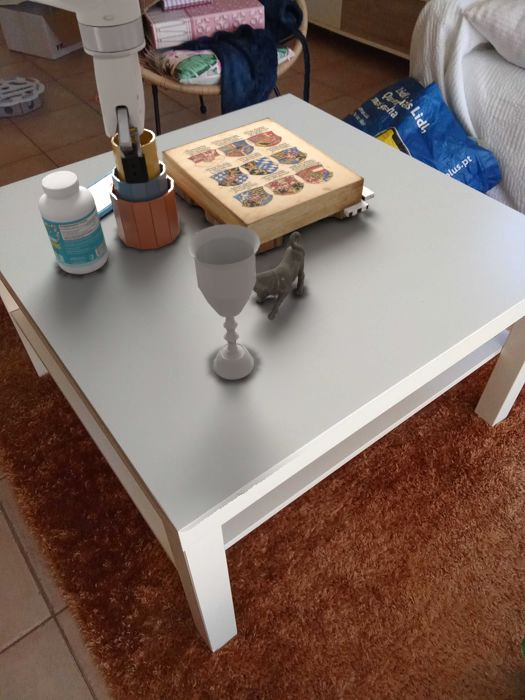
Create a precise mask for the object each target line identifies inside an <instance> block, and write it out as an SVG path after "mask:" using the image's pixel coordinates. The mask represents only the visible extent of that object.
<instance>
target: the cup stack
mask: <svg viewBox="0 0 525 700" xmlns="http://www.w3.org/2000/svg"><path fill="white" fill-rule="evenodd" d="M159 162H160V168H161V174H160V175H159V176H158V177H157V178H154V179H152V180H149V181H148V182H143V183H126V182H124V181H120V180H119V175H118V171H117V166H116V165H115V166H113V167H112V169H111V171H112V175H111V176H112V180H113V182H112V183H111V184H110V191H109V194H110V198H111V203H112V207H113V209H112V210H113V215H114V219H115V223H116V227H117V232H118V236H119V239H120V240H121V241H122V242H123V243H124V245H126V246H127V247H130V248H133V249H137V250H142V251H143V250H155V249H160V248H162V247H164V246H166V245H169V244H172V243H173V242H174V241H175V240H176V239H177V238H178V236H180V234H181V223H180V215H179V209H178V208H179V207H178V201H177V195H176V194H177V193H176V192H175V187H174V180H173V179H172V178H171V177H170V176H168V175H167V172H166V166H165V164H164V163H163V162H162V161H161V160H160V159H159Z"/></svg>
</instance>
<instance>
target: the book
mask: <svg viewBox="0 0 525 700" xmlns="http://www.w3.org/2000/svg"><path fill="white" fill-rule="evenodd" d="M161 155H162V161H163V162H162V163H164V164H165V166H166V172H167V175H168V176H170V177H171V178H172V179H173V180H174V187H175V193H176V194H177V195H178V196H179V197H180V198H182V199H183V200H184V201H185V202H187V203H188V204H189V205H190V206H197V207H201V208H202V209H203V211H204V214H205V215H204V216H205V219H206V221H207V222H208V223H209V224H210V225H212V226H215V225H224V224H231V225H240V226H243V227H247V228H249V229H250V230H252V231H254V232H255V233H256V234H257V235H258V237H259V240H260V245H259V248H258V250H257V252H256V254H255V255H258V254H260V253H264V252H266V251H269V250H273V249H274V248H277V247H281V246H282V245H283V236H285V235H287V234H289V233H291V232H295V231H296V230H298V229H301V228H304V227H305V226H308V225H311V224H313V223H315V222H318V221H319V220H322V219H326V218H327V217H328V218H329V217H331V218H332V217H334V218H337V219H339V220H342V219H345V218H346V217H347V218H350V217H353V216H356V215H358V214H360V213H362V212H364V211H367V210H369V207H370V205H369V204H368V203H367V202H366V201H370V200H371V199H373V198H375V191H372V190H371V189H369V188H367V187H366V186H364V183H365V177H362V176H361V175H359V174H358V173H356V172H354V171H353V170H352V169H350V168H349V167H347V166H345V165H344V164H342V163H340V162H339V161H338V160H336V159H334V158H333V157H331V156H329V155H328V154H326V153H325V152H324V151H322V150H321V149H319V148H317V147H316V146H314V145H313V144H311V143H309V142H308V141H307V140H305V139H303V138H301V136H298V135H297V134H295V133H294V132H292V131H291V130H289V129H287V128H286V127H284V126H283V125H281V124H280V123H278V122H277V121H275V120H273V119H272V118H270V117H266V118H262V119H259V120H256V121H253V122H249V123H247V124H244V125H241V126H237V127H233V128H232V129H228V130H225V131H222V132H219V133H216V134H213V135H210V136H207V137H203V138H200V139H197V140H194V141H190V142H188V143H185V144H182V145H178V146H175V147H172V148H169V149H165V150H162V151H161Z"/></svg>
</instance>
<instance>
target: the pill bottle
mask: <svg viewBox="0 0 525 700" xmlns="http://www.w3.org/2000/svg"><path fill="white" fill-rule="evenodd" d="M41 187H42V190H43V194H42V195H41V197H40V198H39V200H38V211H39V213H40V216H41V219H42V222H43V224H44V227H45V230H46V233H47V236H48V239H49V241H50V245H51V247H52V251H53V253H54V256H55V258H56V261H57V264H58V266H59V268H61V269H62V271H64V272H66V273H67V274H68V273H69V274H73V275H86V274H89V273H93V272H95V271H97V270H99V269H101V268H102V267H103V266H104V265H105V264H106V263H107V261H108V258H109V250H108V246H107V243H106V239H105V235H104V231H103V227H102V224H101V220H100V219H99V216H98V212H97V208H96V204H95V201H94V197H93V195H92V194H91V192H90V191H89V190H88V189H86V188H87V187H84V186H83V185H80V181H79V178H78V176H77V174H76V173H74V172H72V171H68V170H59V171H55V172H52V173H51V172H50V173H49V174H47V175H46V176H44V177H43V179H42V180H41Z"/></svg>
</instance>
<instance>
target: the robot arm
mask: <svg viewBox="0 0 525 700" xmlns="http://www.w3.org/2000/svg"><path fill="white" fill-rule="evenodd" d="M29 2H34V3H37V4H42V5H47V6H51V7H54V8H58V9H62V10H65V11H68V12H71V13H75V16H76V20H77V25H78V29H79V33H80V37H81V42H82V46H83V51H84V52H85V53H86V54H87V55H90V56H92V60H93V69H94V77H95V82H96V83H95V84H96V89H97V94H98V100H99V104H100V110H101V111H100V112H101V115H102V120H103V126H104V131H105V135H106V137H108V138H109V139H110V138H111V139H112V137H113V136H115V134H116V133H117V134H118V140H119V147H120V153H121V162H122V166H123V171H124V176H125V180H126V183H143V182H148V181H149V176H148V170H147V165H146V159H145V154H142V148H141V141H140V135H141V134H142V133H143V130H144V129H145V118H146V117H145V116H146V102H145V101H146V100H145V91H144V84H143V77H142V70H141V65H140V58H139V54H138V52H140V51H142V50H143V49H144V48H145V47H146V38H145V30H144V25H143V24H144V23H143V19H142V11H141V7H140V0H29ZM132 128H135V132H130V129H132ZM132 137H135V140H136V145H135V143H132V140H131V138H132Z"/></svg>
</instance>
